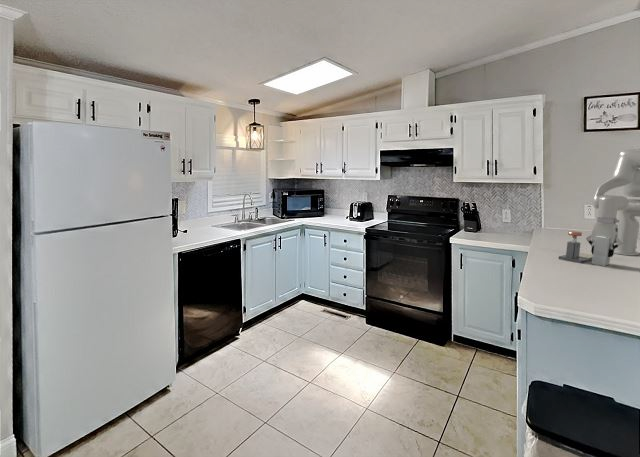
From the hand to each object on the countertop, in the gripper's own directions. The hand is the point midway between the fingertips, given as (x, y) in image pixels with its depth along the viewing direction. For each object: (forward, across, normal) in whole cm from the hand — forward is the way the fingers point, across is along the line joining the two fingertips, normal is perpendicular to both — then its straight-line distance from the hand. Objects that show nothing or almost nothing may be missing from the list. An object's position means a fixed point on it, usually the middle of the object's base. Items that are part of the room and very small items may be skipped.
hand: (601, 255), depth 186 cm
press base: (+5, +11, -1) cm, 12 cm away
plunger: (-1, +11, +5) cm, 12 cm away
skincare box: (+5, 0, 0) cm, 5 cm away
